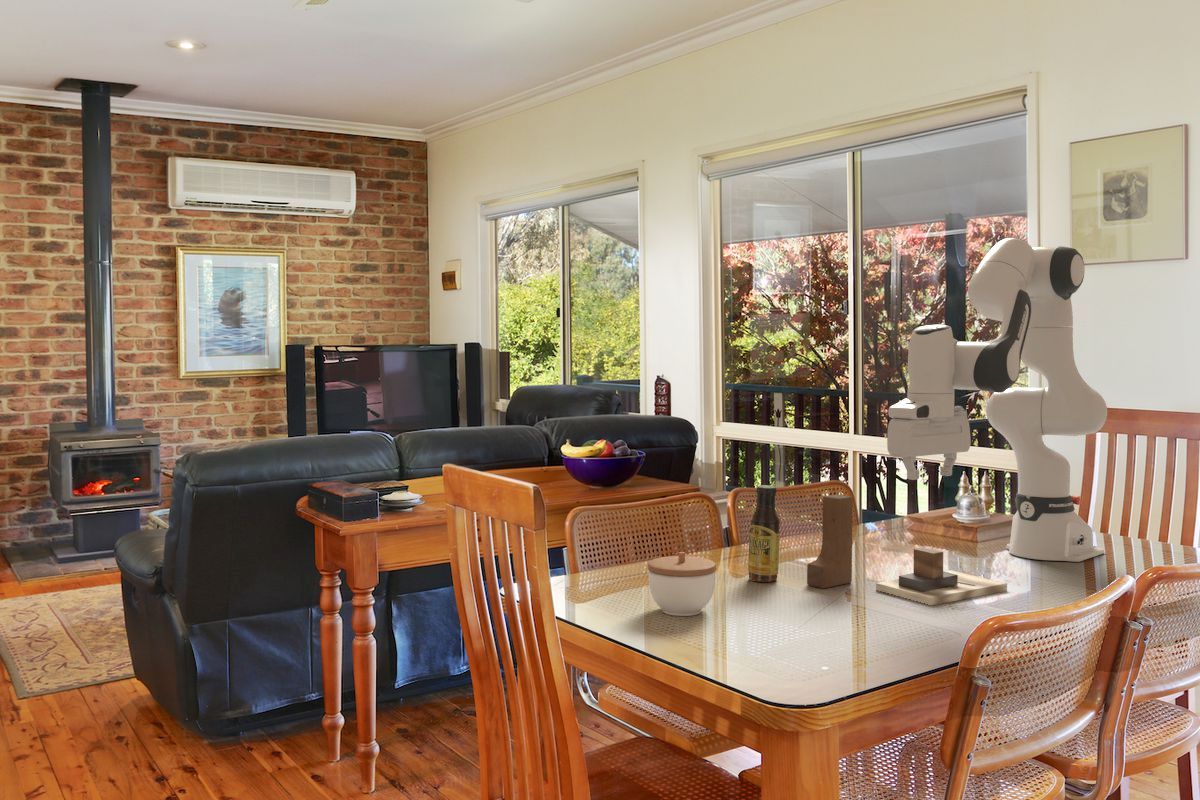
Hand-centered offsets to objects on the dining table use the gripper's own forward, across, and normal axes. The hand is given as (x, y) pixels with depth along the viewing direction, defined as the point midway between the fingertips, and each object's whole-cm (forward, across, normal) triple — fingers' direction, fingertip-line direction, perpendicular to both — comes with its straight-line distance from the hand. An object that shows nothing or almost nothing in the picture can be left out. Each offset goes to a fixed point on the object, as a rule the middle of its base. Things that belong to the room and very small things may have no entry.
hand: (929, 477), depth 206 cm
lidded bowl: (+23, +50, -15) cm, 57 cm away
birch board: (+23, -4, 0) cm, 23 cm away
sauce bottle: (+23, +20, -26) cm, 40 cm away
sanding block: (+21, 0, 0) cm, 21 cm away
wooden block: (+23, +12, -16) cm, 30 cm away
